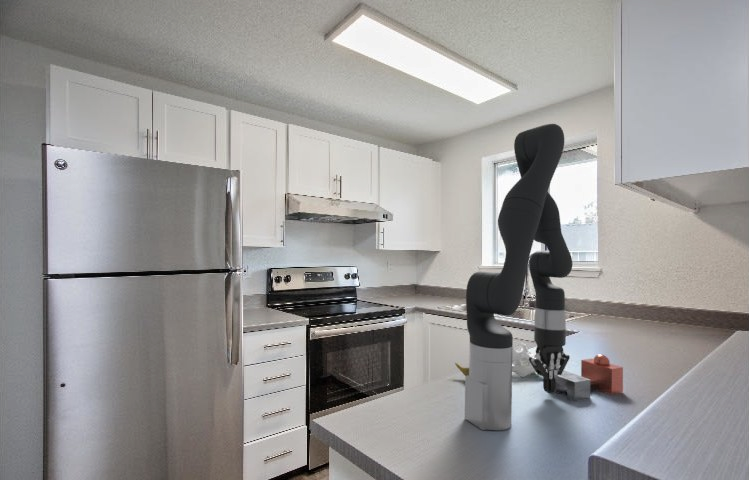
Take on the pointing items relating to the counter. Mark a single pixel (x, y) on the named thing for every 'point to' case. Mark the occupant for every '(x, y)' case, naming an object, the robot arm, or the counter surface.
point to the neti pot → (463, 369)
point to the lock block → (573, 386)
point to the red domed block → (603, 375)
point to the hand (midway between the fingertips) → (549, 391)
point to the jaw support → (522, 360)
